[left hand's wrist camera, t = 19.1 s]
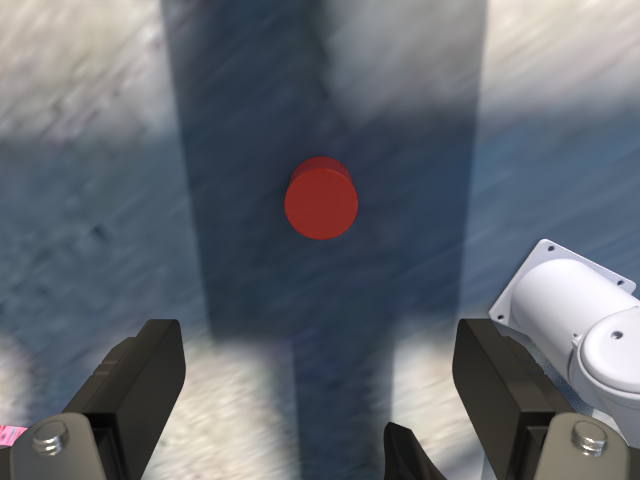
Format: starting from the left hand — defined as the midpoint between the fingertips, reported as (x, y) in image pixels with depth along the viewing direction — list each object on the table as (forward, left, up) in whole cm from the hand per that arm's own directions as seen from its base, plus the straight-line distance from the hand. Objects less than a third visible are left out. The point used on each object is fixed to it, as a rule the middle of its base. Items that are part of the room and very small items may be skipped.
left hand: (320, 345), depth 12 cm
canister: (0, 0, -21) cm, 21 cm away
